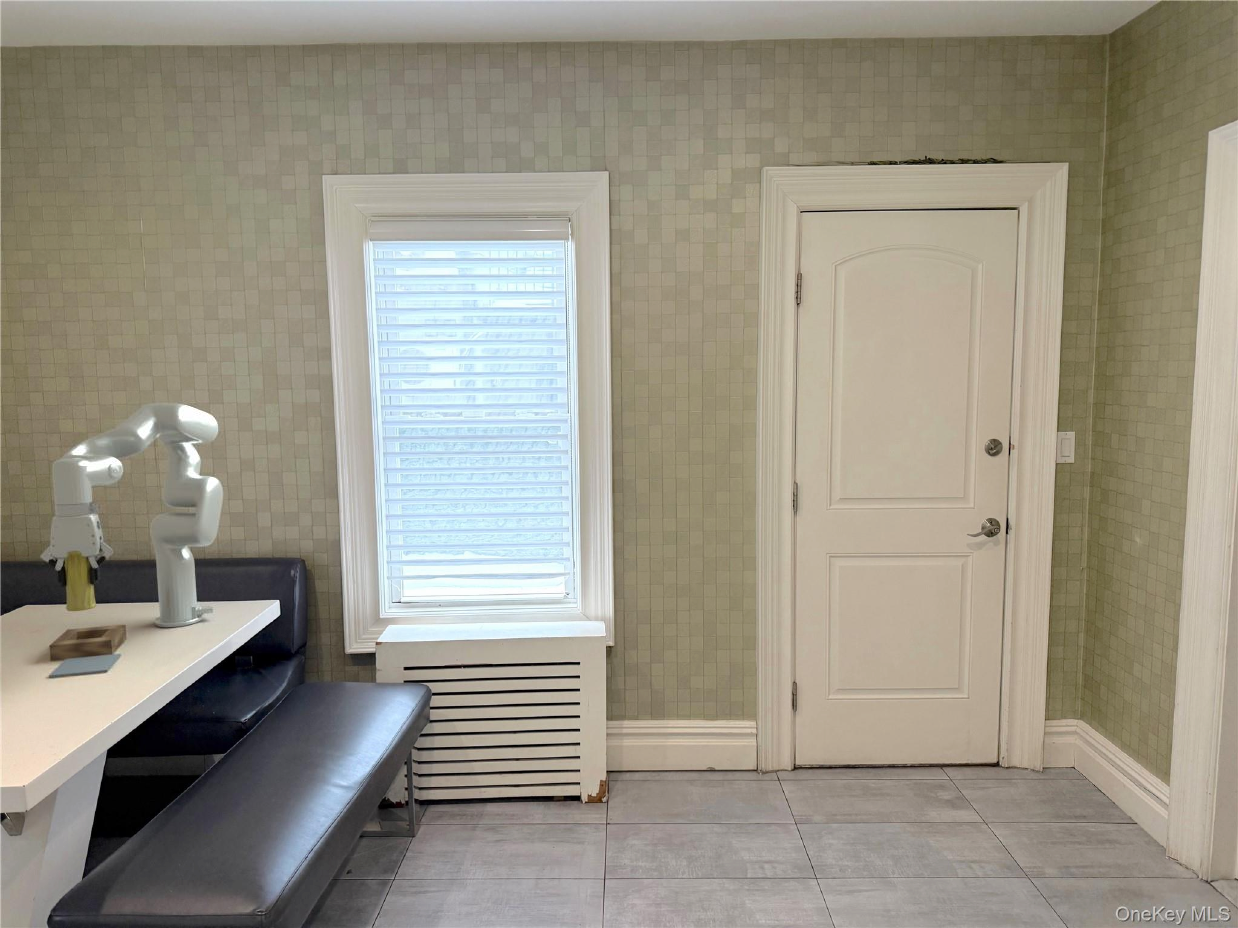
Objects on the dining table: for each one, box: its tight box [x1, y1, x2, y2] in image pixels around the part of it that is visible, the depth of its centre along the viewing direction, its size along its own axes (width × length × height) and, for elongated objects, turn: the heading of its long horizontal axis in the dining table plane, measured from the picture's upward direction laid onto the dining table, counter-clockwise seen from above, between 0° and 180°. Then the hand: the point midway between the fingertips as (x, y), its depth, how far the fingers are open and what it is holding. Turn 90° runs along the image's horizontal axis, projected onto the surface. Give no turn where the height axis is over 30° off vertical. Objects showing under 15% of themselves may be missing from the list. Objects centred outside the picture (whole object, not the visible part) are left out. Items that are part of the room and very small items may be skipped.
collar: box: [48, 624, 127, 662], centre depth 211 cm, size 14×14×4 cm
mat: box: [48, 653, 122, 679], centre depth 199 cm, size 12×12×1 cm
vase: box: [64, 552, 97, 612], centre depth 197 cm, size 6×6×14 cm
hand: (79, 583), depth 197 cm, fingers closed on vase, 5 cm apart
